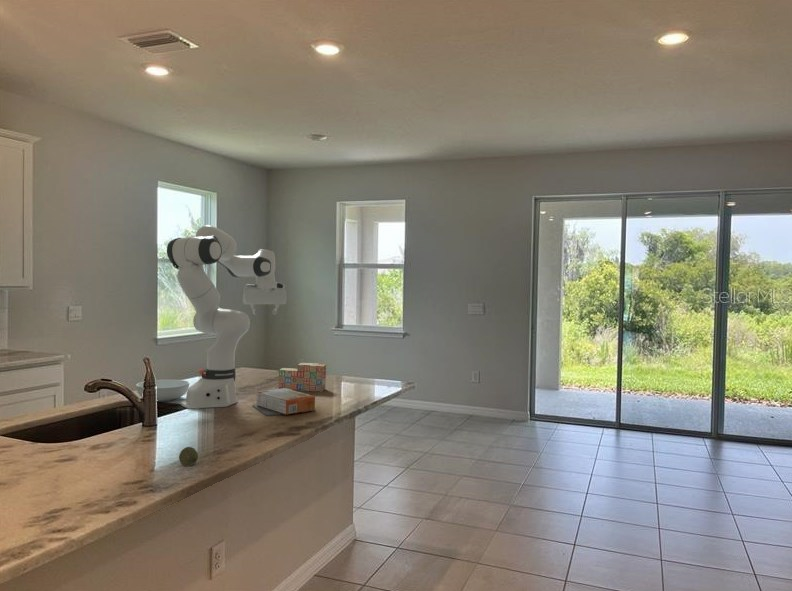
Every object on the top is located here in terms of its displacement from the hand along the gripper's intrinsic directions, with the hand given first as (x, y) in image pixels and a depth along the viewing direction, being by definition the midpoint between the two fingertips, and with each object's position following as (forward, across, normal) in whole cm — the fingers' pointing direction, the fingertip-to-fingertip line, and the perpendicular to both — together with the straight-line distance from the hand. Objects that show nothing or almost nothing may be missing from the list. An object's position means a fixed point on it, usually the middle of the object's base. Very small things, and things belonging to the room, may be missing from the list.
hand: (264, 314), depth 273 cm
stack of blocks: (+36, +17, -7) cm, 40 cm away
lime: (+36, -53, -95) cm, 114 cm away
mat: (+35, -5, -41) cm, 54 cm away
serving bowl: (+35, -45, -5) cm, 57 cm away
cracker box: (+32, -2, -53) cm, 62 cm away
